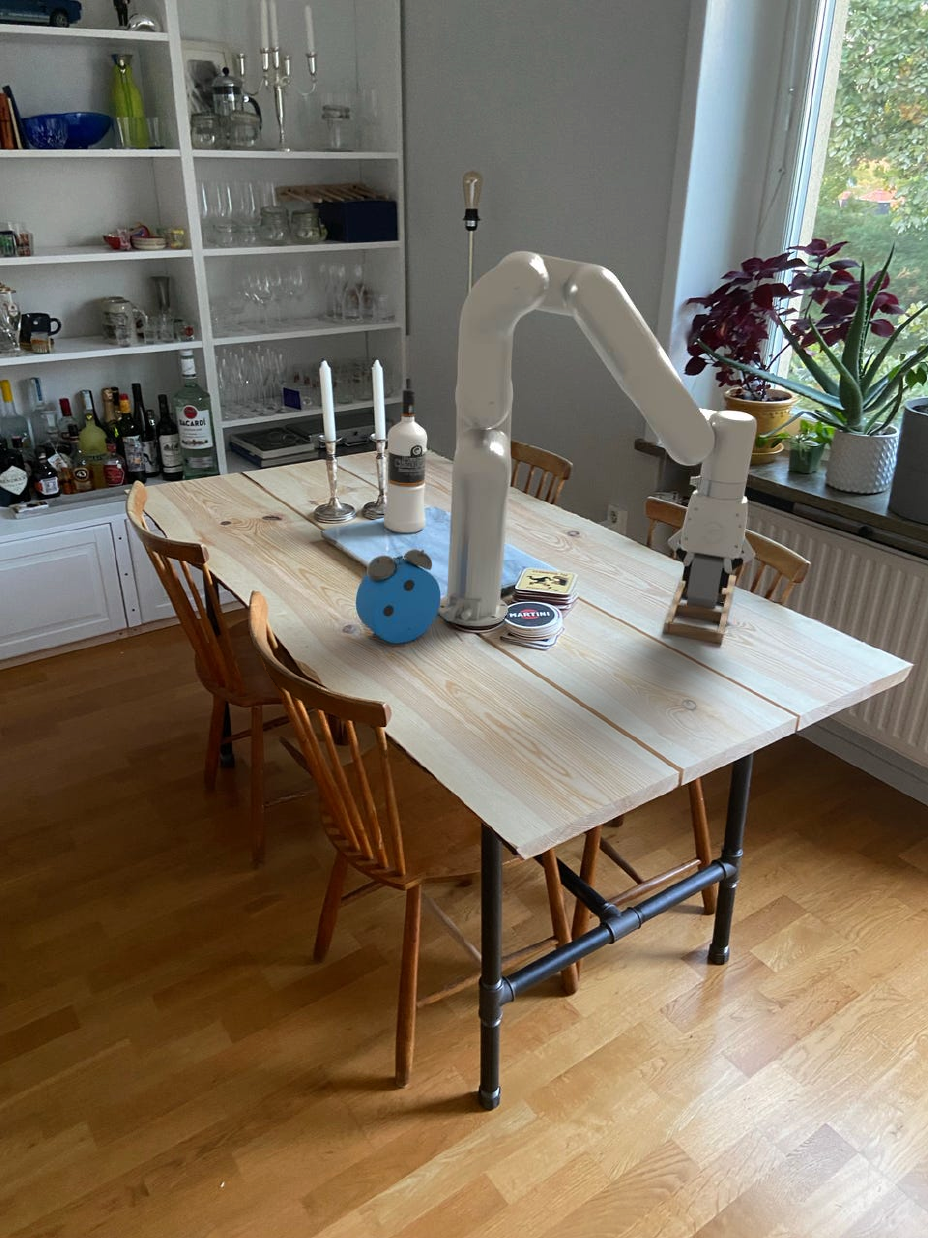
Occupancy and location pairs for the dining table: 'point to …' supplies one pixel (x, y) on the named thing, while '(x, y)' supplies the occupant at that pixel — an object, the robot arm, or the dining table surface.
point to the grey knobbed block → (702, 602)
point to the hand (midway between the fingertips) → (704, 587)
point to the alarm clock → (398, 597)
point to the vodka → (406, 471)
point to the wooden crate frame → (699, 615)
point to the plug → (705, 576)
